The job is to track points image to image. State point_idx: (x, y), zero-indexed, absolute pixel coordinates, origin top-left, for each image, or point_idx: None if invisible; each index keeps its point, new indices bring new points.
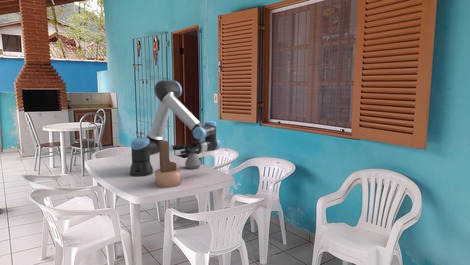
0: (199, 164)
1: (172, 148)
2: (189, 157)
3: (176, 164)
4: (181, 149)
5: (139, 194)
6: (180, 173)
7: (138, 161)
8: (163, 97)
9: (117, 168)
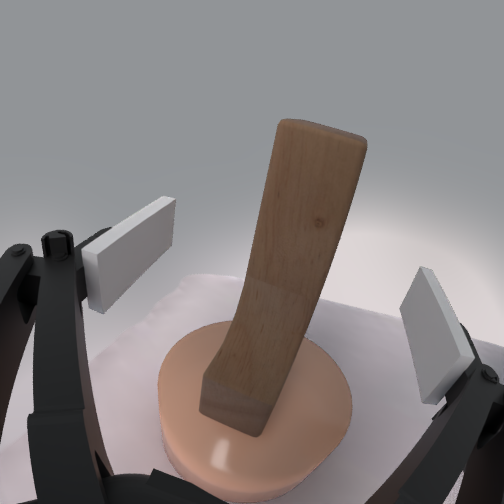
0: None
1: (438, 373)
2: None
3: (202, 382)
4: (369, 500)
5: (230, 290)
6: (171, 438)
7: None
8: None
9: None
